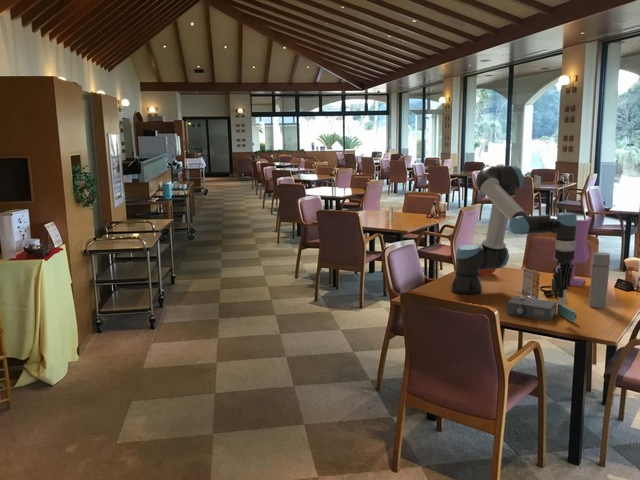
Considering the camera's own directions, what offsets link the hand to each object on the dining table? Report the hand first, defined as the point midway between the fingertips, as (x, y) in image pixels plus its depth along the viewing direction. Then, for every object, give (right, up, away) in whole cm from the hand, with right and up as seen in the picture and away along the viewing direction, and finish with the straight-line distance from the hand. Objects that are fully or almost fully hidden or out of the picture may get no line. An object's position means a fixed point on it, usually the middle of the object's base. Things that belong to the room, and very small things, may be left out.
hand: (561, 304), depth 240 cm
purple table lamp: (+32, +4, +64) cm, 71 cm away
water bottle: (+26, -3, +22) cm, 34 cm away
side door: (+4, -7, +5) cm, 9 cm away
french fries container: (-8, +8, +83) cm, 84 cm away
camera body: (-9, -6, +10) cm, 15 cm away
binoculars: (+11, -1, +39) cm, 40 cm away
